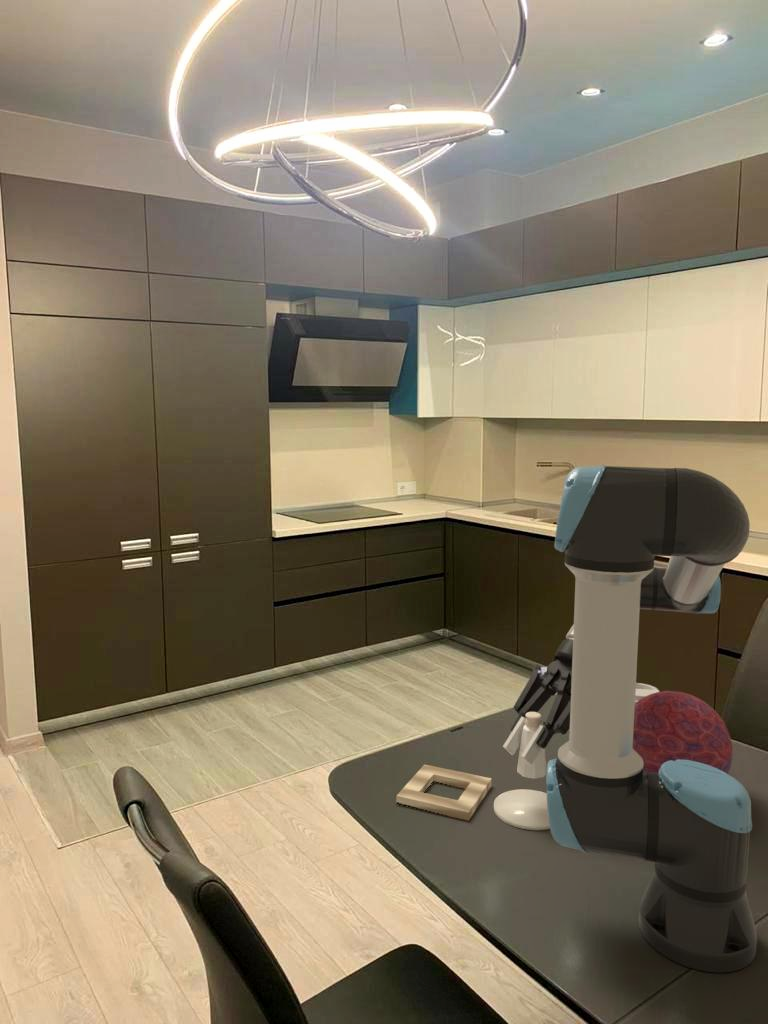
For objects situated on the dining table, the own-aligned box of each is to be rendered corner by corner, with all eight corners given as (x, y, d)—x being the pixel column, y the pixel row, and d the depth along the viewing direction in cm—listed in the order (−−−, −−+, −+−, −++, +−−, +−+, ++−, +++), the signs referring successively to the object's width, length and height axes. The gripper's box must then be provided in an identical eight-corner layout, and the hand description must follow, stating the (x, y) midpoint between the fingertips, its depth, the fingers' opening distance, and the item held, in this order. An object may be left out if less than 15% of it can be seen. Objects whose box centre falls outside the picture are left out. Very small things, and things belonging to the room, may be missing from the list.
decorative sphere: (729, 783, 149) (736, 685, 147) (728, 834, 131) (735, 723, 129) (623, 763, 157) (628, 670, 155) (608, 808, 139) (613, 703, 137)
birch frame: (468, 820, 135) (468, 812, 135) (396, 803, 141) (396, 795, 140) (491, 786, 148) (491, 778, 147) (424, 771, 153) (424, 764, 153)
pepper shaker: (510, 772, 138) (512, 714, 136) (526, 762, 142) (528, 705, 140) (536, 782, 134) (538, 722, 133) (552, 771, 138) (554, 713, 137)
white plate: (558, 837, 130) (558, 832, 130) (484, 820, 135) (484, 815, 135) (572, 802, 142) (572, 798, 141) (504, 787, 147) (504, 783, 147)
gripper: (628, 672, 138) (563, 784, 130) (557, 648, 151) (494, 748, 144) (610, 649, 134) (542, 763, 127) (539, 627, 148) (474, 728, 140)
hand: (517, 755), depth 135 cm, fingers closed on pepper shaker, 4 cm apart
